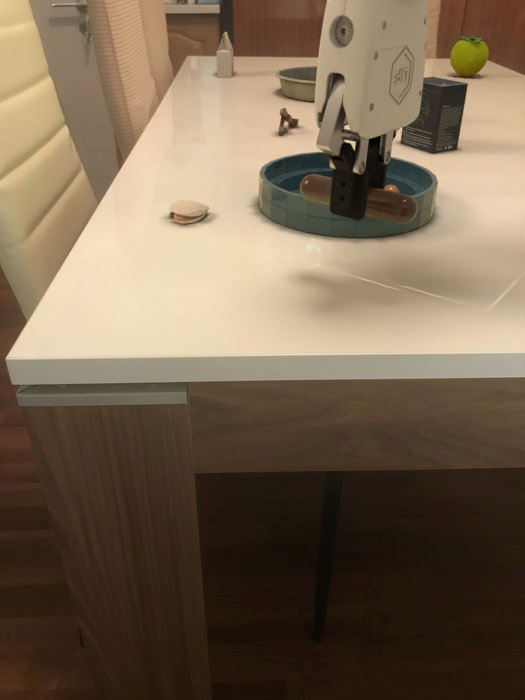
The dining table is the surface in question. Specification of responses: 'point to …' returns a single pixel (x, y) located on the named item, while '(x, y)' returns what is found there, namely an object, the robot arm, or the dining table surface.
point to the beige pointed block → (225, 58)
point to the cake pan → (298, 82)
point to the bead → (392, 188)
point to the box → (437, 116)
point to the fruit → (469, 56)
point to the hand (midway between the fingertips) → (356, 209)
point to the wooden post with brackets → (287, 118)
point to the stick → (377, 199)
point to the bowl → (299, 213)
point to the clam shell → (187, 211)
